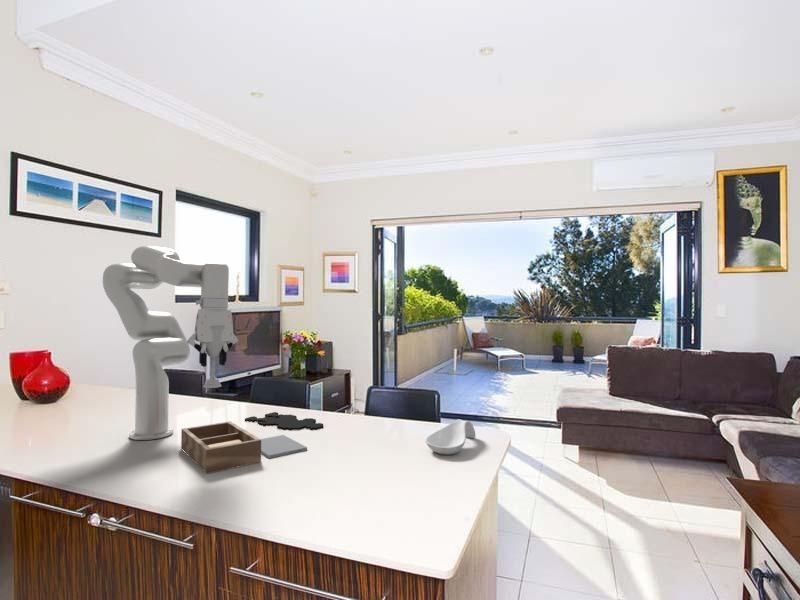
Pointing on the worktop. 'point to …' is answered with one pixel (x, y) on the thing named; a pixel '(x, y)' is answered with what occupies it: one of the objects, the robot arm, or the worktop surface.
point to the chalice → (213, 351)
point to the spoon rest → (451, 437)
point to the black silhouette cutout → (286, 422)
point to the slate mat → (280, 446)
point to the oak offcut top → (224, 443)
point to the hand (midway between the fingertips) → (212, 364)
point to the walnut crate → (222, 456)
